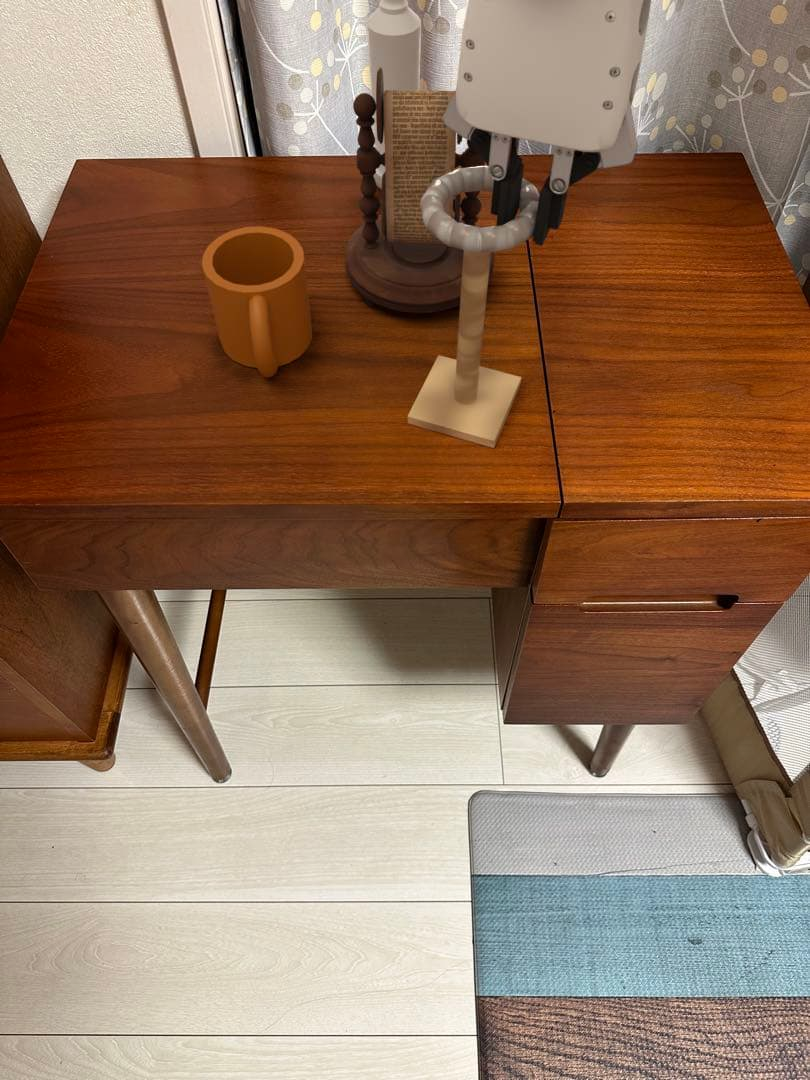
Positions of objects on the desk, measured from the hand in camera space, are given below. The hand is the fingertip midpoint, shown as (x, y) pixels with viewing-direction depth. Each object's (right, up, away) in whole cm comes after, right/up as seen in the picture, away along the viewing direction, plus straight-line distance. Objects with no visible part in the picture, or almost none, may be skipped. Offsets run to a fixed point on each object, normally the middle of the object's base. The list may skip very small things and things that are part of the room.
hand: (525, 226), depth 56 cm
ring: (-3, +1, 0) cm, 3 cm away
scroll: (-7, +5, +26) cm, 28 cm away
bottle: (-9, +19, +35) cm, 41 cm away
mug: (-22, -4, +21) cm, 30 cm away
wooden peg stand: (-3, -9, +17) cm, 19 cm away
